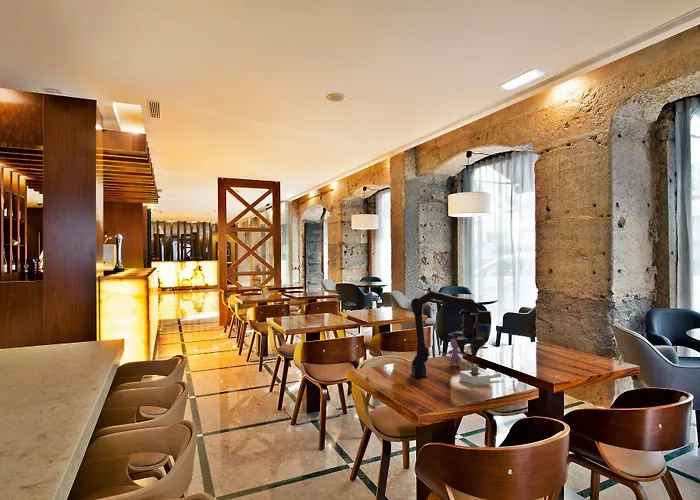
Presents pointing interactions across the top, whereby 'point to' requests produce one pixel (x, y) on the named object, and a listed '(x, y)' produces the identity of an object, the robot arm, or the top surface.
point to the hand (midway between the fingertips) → (468, 356)
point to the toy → (454, 353)
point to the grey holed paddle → (477, 378)
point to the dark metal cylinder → (474, 369)
